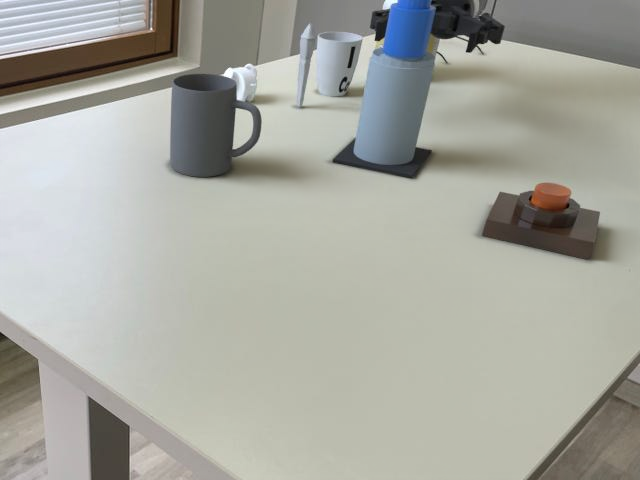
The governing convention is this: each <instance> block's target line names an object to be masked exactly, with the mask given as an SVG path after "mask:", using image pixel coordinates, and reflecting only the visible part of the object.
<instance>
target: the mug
mask: <svg viewBox="0 0 640 480" xmlns="http://www.w3.org/2000/svg"><path fill="white" fill-rule="evenodd" d="M236 96H237V84H236V81H235V80H233V79H231V78H229V77H225V76H224V75H222V74H215V73H190V74H188V73H187V74H184V75H183V74H182V75H180V76H176V77H175V78H174V79H173V80H172V85H171V97H170V98H171V99H170V101H171V102H170V130H169V131H170V133H169V134H170V135H169V137H170V138H169V140H170V142H169V155H170V157H169V161H170V166H171V168H172V169H173V170H174V171H176V172H177V173H179V174H182V175H185V176H190V177H196V178H209V177H215V176H220V175H223V174H225V173H227V172H228V171H229V169H230V168H231V165H232V159H233V158H238V157H240V156H243V155H245V154H246V153H248V152H249V151H250V150H251V149H253V148H254V147H255V146H256V145H257V143H258V142H259V140H260V137H261V132H262V123H263V122H262V115H261V111H260V109H259V107H258V106H256V105H255V104H253V103H251V102H248V101H245V102H244V101H240V100H236ZM237 109H239V110H244V111H247V112H249V113H250V114H251V117H252V123H253V124H252V133H251V136H250V137H249V139H248V140H247V141H246V142H245V143H243V144H242V145H241V146H239V147H236V148H234V139H235V138H234V137H235V125H236V112H237V111H236V110H237Z"/></svg>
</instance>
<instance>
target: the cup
mask: <svg viewBox="0 0 640 480" xmlns="http://www.w3.org/2000/svg"><path fill="white" fill-rule="evenodd" d="M363 39H364V37H363V36H362V35H360V34H357V33H352V32H347V31H325V32H321V33H319V34H317V44H316V56H315V57H316V58H315V64H316V65H315V66H316V71H315V72H316V84H317V88H318V93H319V94H320V95H323V96H326V97H343V96H345V95H346V94H347V92H348V90H349V88H350V85H351V83H352V80H353V77H354V75H355V72H356V69H357V65H358V62H359V59H360V58H359V57H360V53H361V48H362V43H363Z"/></svg>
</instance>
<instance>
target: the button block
mask: <svg viewBox="0 0 640 480" xmlns="http://www.w3.org/2000/svg"><path fill="white" fill-rule="evenodd" d="M533 193H534V190H528V191H523V192H520V193H519V194H514V193H509V192H504V191H499V192H498V194H497V197H496V199H495V201H494V202H493V204H492V206H491V209H490V211H489V213H488V215H487V217H486V219H485V223H484V225H483V229H482V233H481V236H482V237H487V238H491V239H495V240H500V241H505V242H509V243H513V244H517V245H518V244H519V245H522V246H526V247H531V248H534V249H540V250H544V251H549V252H553V253H558V254H562V255H566V256H571V257H576V258H580V259H584V260H589V258H590V256H591V254H592V251H593V248H594V245H595V244H596V238H597V233H598V226H599V221H600V217H601V211H599V210H593V209H589V208H584V207H581V204H579V203H578V202H577V201H576V200H575V199H573V198H571V197H570V198H569V201H568V204H567V206H566V209H564V210H551V209H546V208H541V207H539V206H536V205H534V204H532V203H531V199H532V196H533Z"/></svg>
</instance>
